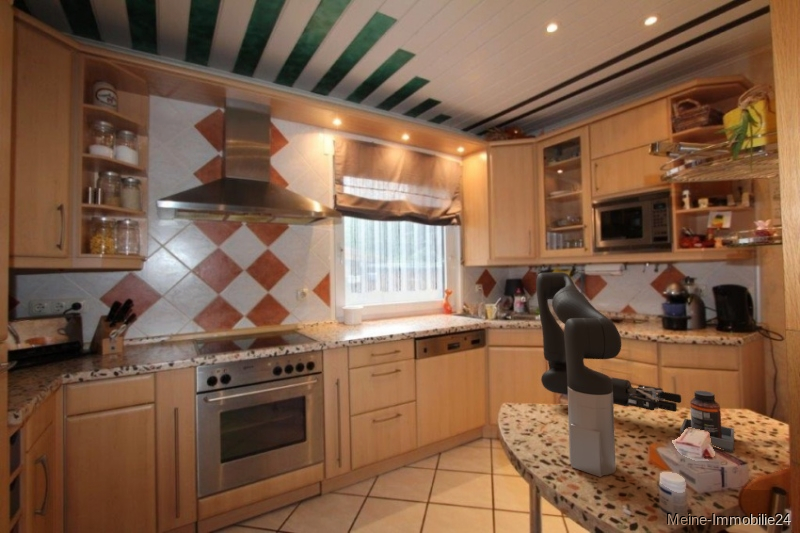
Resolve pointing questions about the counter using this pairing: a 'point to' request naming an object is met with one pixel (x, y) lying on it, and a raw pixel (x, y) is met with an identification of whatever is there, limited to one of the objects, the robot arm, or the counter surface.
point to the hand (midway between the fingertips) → (678, 403)
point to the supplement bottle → (706, 413)
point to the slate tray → (723, 443)
